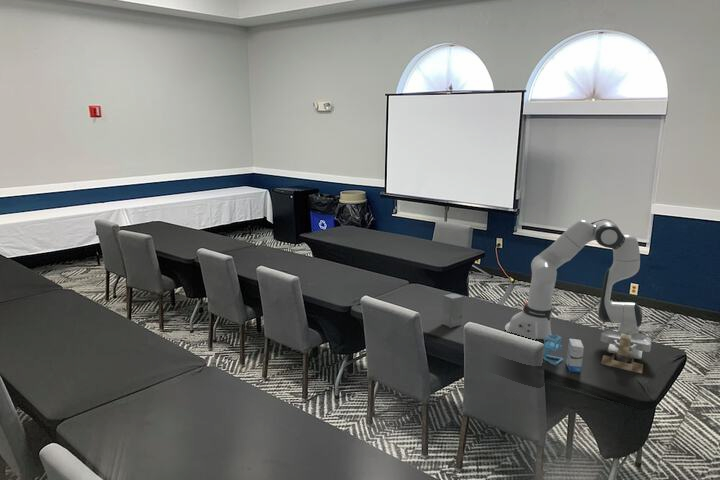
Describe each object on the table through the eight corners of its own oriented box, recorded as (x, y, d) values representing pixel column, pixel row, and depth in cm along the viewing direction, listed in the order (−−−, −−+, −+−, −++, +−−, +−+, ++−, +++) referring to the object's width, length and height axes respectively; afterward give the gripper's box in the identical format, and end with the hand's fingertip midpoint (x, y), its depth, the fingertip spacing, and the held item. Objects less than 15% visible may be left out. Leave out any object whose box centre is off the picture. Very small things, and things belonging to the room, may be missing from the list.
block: (616, 362, 231) (620, 337, 228) (617, 358, 235) (621, 333, 232) (626, 364, 229) (630, 339, 226) (627, 360, 233) (631, 335, 230)
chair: (545, 354, 241) (548, 330, 238) (563, 360, 235) (566, 335, 232) (537, 359, 235) (540, 334, 232) (555, 366, 230) (558, 340, 227)
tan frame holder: (600, 363, 232) (601, 357, 231) (603, 355, 240) (604, 349, 239) (641, 373, 224) (643, 367, 224) (643, 365, 232) (644, 358, 231)
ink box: (581, 373, 224) (584, 347, 221) (569, 371, 225) (572, 346, 222) (577, 363, 232) (580, 339, 229) (565, 362, 233) (568, 338, 230)
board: (607, 351, 244) (607, 349, 244) (609, 343, 252) (610, 342, 252) (641, 359, 237) (641, 357, 237) (642, 351, 245) (642, 349, 245)
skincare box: (450, 328, 266) (452, 299, 262) (440, 323, 272) (442, 294, 268) (462, 325, 271) (464, 296, 267) (453, 320, 277) (454, 292, 273)
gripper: (603, 324, 245) (599, 335, 234) (652, 335, 235) (651, 346, 224) (601, 337, 247) (597, 348, 235) (650, 348, 237) (648, 360, 225)
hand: (624, 347), depth 229 cm, fingers closed on block, 4 cm apart
